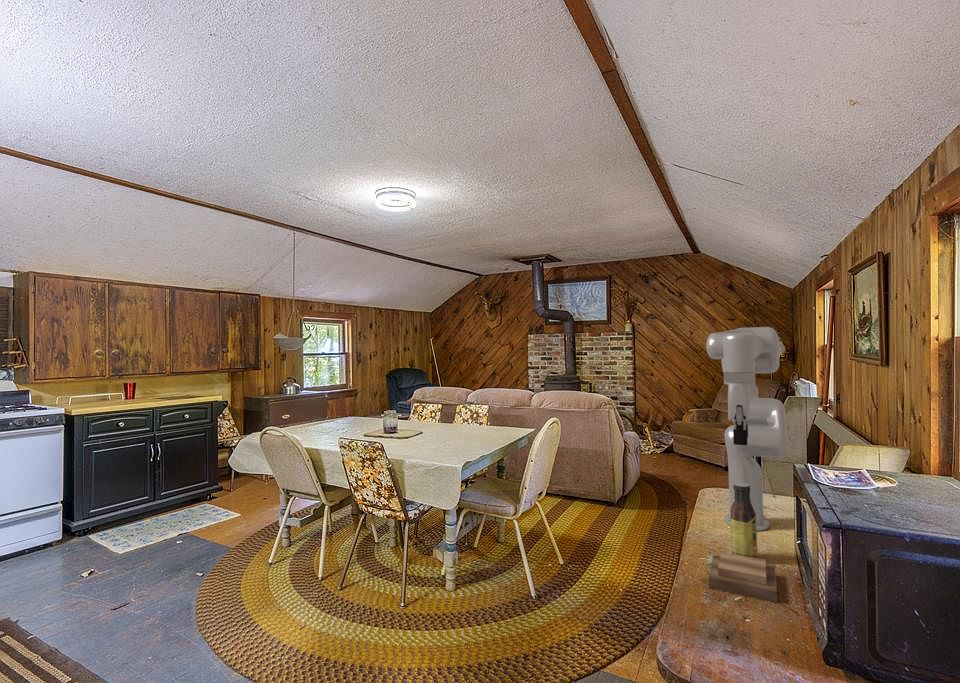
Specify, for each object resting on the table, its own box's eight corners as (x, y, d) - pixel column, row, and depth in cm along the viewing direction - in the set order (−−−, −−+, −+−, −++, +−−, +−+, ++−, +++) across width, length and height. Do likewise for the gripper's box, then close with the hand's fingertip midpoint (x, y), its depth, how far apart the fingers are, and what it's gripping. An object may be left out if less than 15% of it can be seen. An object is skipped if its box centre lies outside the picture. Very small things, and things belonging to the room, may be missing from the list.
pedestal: (713, 564, 128) (713, 547, 128) (775, 575, 121) (774, 557, 121) (708, 588, 116) (708, 569, 116) (777, 602, 109) (776, 582, 109)
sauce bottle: (759, 564, 127) (757, 489, 127) (733, 561, 130) (731, 487, 130) (755, 553, 134) (753, 482, 134) (729, 551, 136) (727, 480, 136)
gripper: (725, 376, 141) (727, 434, 141) (721, 380, 126) (723, 446, 126) (755, 376, 137) (757, 436, 137) (754, 381, 122) (756, 449, 122)
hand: (741, 441), depth 131 cm, fingers open, 9 cm apart
